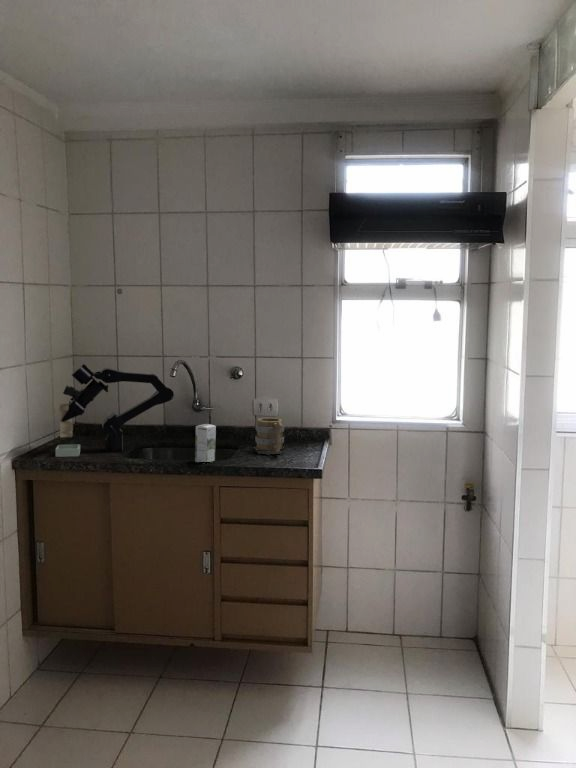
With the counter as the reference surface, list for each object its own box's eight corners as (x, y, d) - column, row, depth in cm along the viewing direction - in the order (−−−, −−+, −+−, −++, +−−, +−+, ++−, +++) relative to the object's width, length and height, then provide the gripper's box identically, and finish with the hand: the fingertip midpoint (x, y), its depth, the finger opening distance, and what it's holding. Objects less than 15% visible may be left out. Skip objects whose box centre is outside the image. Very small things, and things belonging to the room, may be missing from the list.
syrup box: (203, 459, 260) (204, 423, 258) (215, 461, 257) (216, 425, 255) (194, 462, 255) (195, 425, 254) (206, 464, 252) (207, 427, 251)
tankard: (251, 449, 281) (251, 415, 279) (279, 448, 285) (279, 414, 283) (264, 459, 262) (264, 422, 260) (293, 458, 266) (294, 422, 264)
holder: (80, 451, 269) (80, 444, 268) (78, 456, 260) (78, 448, 260) (58, 452, 267) (58, 444, 266) (55, 456, 258) (55, 449, 258)
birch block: (72, 434, 269) (71, 403, 267) (72, 436, 264) (71, 405, 263) (60, 435, 267) (59, 403, 266) (60, 437, 263) (59, 405, 261)
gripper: (75, 376, 273) (48, 403, 271) (74, 381, 255) (45, 410, 253) (95, 394, 276) (68, 421, 274) (96, 400, 259) (67, 429, 257)
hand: (62, 420), depth 265 cm, fingers closed on birch block, 4 cm apart
